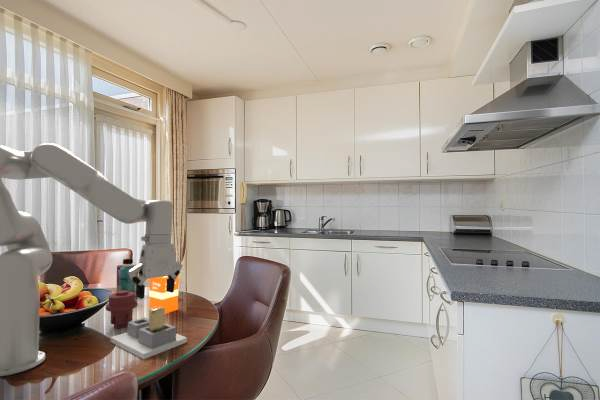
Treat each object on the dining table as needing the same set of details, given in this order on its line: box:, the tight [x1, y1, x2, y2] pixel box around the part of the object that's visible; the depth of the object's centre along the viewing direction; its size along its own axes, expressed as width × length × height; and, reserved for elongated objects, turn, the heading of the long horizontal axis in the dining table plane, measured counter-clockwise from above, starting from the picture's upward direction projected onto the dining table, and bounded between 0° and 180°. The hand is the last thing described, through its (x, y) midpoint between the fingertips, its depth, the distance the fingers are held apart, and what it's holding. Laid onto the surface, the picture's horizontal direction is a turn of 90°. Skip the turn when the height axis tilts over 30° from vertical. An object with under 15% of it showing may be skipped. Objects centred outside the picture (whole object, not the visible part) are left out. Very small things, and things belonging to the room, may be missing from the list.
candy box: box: [115, 263, 139, 297], centre depth 155 cm, size 9×4×15 cm, turn 91°
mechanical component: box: [105, 290, 138, 330], centre depth 115 cm, size 12×10×10 cm
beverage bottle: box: [119, 258, 135, 293], centre depth 143 cm, size 6×7×20 cm
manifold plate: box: [110, 317, 188, 360], centre depth 100 cm, size 14×20×6 cm
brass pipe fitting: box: [148, 307, 166, 333], centre depth 97 cm, size 4×4×10 cm
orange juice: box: [148, 275, 179, 314], centre depth 133 cm, size 8×9×20 cm
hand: (155, 294), depth 98 cm, fingers open, 9 cm apart
